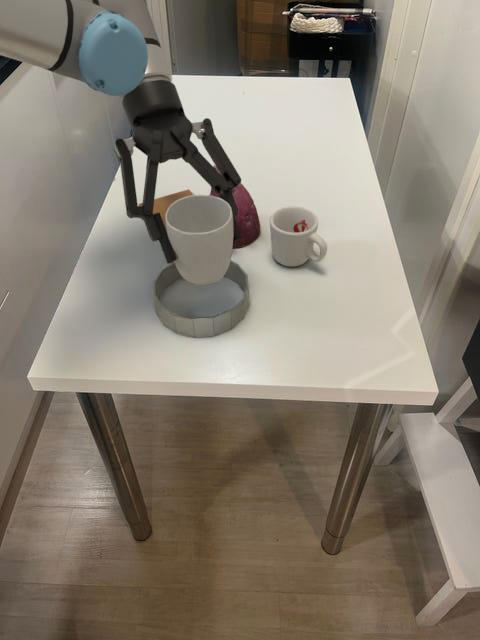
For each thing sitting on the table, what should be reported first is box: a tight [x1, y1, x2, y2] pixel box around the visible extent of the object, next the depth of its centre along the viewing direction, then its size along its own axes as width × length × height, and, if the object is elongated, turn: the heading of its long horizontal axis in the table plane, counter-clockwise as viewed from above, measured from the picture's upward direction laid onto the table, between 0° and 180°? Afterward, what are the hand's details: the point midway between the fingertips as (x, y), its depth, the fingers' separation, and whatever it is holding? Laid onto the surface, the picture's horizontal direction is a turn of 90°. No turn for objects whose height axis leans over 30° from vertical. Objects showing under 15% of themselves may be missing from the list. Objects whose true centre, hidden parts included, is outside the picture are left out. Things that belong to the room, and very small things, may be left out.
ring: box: [152, 260, 250, 339], centre depth 78 cm, size 15×15×4 cm
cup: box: [269, 205, 328, 267], centre depth 84 cm, size 11×8×8 cm
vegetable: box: [209, 164, 261, 249], centre depth 88 cm, size 10×10×15 cm
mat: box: [137, 188, 194, 229], centre depth 97 cm, size 11×11×1 cm
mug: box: [165, 194, 234, 286], centre depth 70 cm, size 13×9×10 cm
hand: (204, 250), depth 68 cm, fingers closed on mug, 9 cm apart
